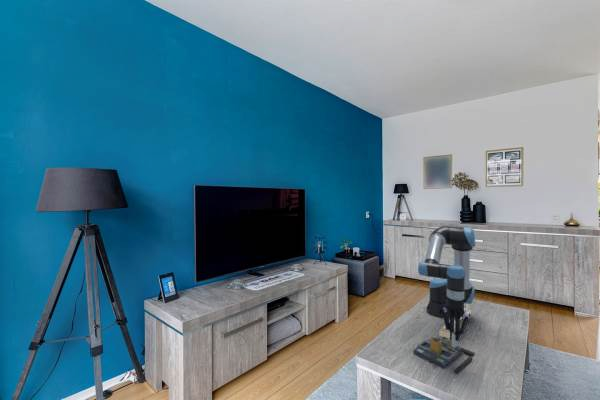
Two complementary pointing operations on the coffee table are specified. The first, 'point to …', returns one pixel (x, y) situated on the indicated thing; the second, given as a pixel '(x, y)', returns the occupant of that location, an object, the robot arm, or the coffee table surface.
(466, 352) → the cord front
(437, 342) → the block
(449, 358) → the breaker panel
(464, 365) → the rod
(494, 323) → the coffee table surface
